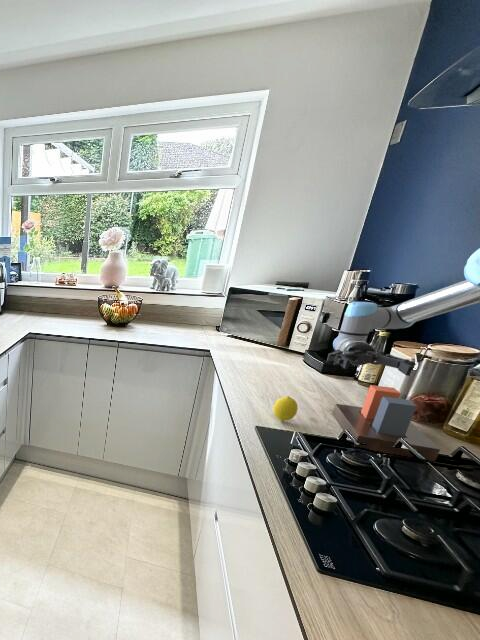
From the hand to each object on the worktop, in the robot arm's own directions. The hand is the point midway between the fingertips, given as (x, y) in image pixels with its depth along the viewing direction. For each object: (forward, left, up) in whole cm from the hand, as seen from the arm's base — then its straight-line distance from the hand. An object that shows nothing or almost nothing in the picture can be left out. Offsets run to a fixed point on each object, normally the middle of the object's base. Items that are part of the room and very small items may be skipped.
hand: (377, 367), depth 118 cm
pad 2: (-10, +19, -15) cm, 26 cm away
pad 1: (-5, +10, -15) cm, 19 cm away
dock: (-8, +14, -15) cm, 22 cm away
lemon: (+10, +26, -15) cm, 32 cm away
